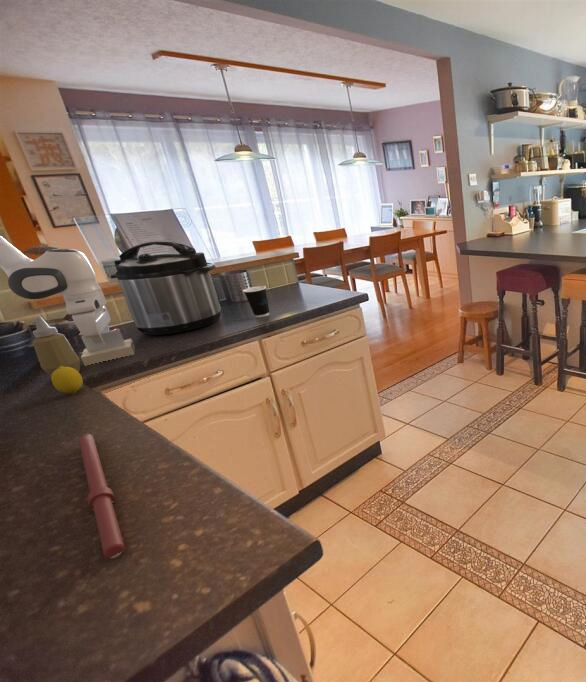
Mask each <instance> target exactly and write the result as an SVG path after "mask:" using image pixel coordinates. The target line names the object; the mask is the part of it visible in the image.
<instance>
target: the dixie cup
mask: <svg viewBox="0 0 586 682" xmlns="http://www.w3.org/2000/svg"><path fill="white" fill-rule="evenodd" d="M242 292H243V293H244V295H245V297H246V300H247V302H248V304H249V306H250V309H251V311H252V313H253V315H254V316H255V318H257V319H258V318H259V319H260V318H265V317H267V316H269V315H270V308H269V301H268V293H267V286H265V285H257V286H252V287H248V288H245V289H243V290H242Z"/></svg>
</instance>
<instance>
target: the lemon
mask: <svg viewBox="0 0 586 682" xmlns="http://www.w3.org/2000/svg"><path fill="white" fill-rule="evenodd" d="M50 378H51V383H52V385H53V387H54V389H55V390H57V391H58V392H61V393H64V394H67V393H68V394H71V395H74V394H76V393H77V391H79V390H80V389H81V388H82V386H83V383H84V382H83V381H84V380H83V376H82V375H81V373H80V371H79V372H78V371H77V370H75V369H74V368H71V367H63V366H60V367H59V368H58V369H56V370H55V371H54V372H53V373H52V376H50Z"/></svg>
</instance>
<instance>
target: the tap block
mask: <svg viewBox="0 0 586 682" xmlns="http://www.w3.org/2000/svg"><path fill="white" fill-rule="evenodd" d="M124 341H125V344H124V345H120V346H115V347H110V348H106V349H101V350H96V351H91V352H88V350H87V348H86V347H85V348H84V349H83V351H82V352H79V354H81V356H80V359H81V362H82V364H83V366H84V367H88V366H87V365H89V366H92V365H91V364H93V365H96V364H95V363H97V364H100V363H99V362H101V363H104V362H103V361H106V362H109V361H108V360H110V361H113V360H112V359H114V360H117V359H116V358H118V359H122V358H121V357H123V358H126V356H127V357H131V356H134V355H135V349H136V346H135V344H134V341H133V339H132V338H127V339H124ZM130 355H131V356H130Z"/></svg>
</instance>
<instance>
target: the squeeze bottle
mask: <svg viewBox="0 0 586 682" xmlns="http://www.w3.org/2000/svg"><path fill="white" fill-rule="evenodd" d="M34 321H35V327H36V329H35V330H33V331H32V334H33V336H34V339H33V340H32V345H33V348H34V351H35V354H36V356H37V360H38V363H39V365H40V367H41V369H42V370H43V372H45V373H46V374H47V375H49V376H50V377H51V376H52V373H53V372H54V371H55V370H56V369H58V368H59V367H60V366H63V367H71V368H74V369H75V370H77V371H78V372H79V373H80V371H81V369H80V366H81V365H80V361H81V360H80V359H81V358H80V357H79V356H78V354H77V353H76V351H75V349H74V348H73V346H72V345H71V343H70V341H69V340H68V339H67V338H66V335H65V334H63V333H60V332H58V329H57V327H56V326H50V325H49V324H48V323H47V322H46V321H45V320H44V319H43V317H41V316H36V317H34Z"/></svg>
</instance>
